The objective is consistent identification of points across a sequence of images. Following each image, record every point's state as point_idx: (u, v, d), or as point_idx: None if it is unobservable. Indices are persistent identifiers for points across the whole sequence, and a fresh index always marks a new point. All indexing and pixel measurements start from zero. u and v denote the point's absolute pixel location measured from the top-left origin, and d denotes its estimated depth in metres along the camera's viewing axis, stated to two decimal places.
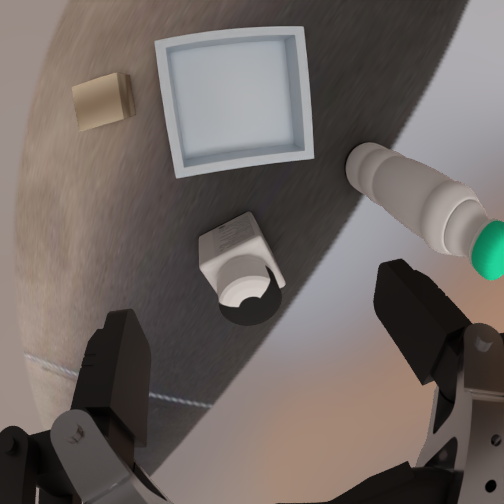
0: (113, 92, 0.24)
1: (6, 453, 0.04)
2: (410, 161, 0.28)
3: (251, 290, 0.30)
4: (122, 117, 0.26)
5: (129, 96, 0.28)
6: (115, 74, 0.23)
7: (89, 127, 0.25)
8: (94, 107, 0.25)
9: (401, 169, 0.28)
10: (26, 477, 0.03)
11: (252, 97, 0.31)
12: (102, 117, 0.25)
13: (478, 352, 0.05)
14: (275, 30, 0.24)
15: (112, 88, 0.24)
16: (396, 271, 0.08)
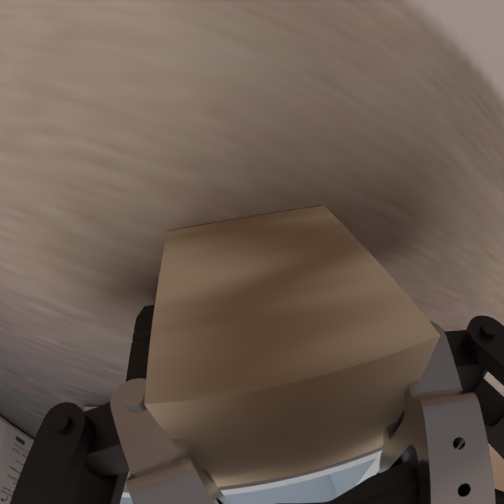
0: (319, 462, 0.06)
1: (56, 430, 0.05)
2: None
3: None
4: (218, 486, 0.07)
5: None
6: (376, 447, 0.07)
7: (176, 437, 0.05)
8: (283, 440, 0.05)
9: None
10: (74, 459, 0.04)
11: None
12: (224, 460, 0.05)
13: None
14: None
15: (335, 456, 0.07)
16: None
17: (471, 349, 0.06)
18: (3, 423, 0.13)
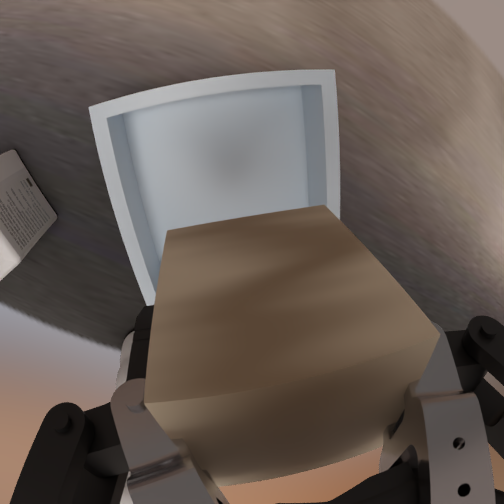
0: (319, 461, 0.06)
1: (56, 430, 0.05)
2: None
3: None
4: (218, 485, 0.06)
5: None
6: (376, 447, 0.07)
7: (176, 436, 0.05)
8: (283, 440, 0.05)
9: None
10: (74, 460, 0.04)
11: (223, 205, 0.23)
12: (224, 460, 0.05)
13: None
14: None
15: (335, 456, 0.07)
16: None
17: (471, 349, 0.06)
18: (21, 164, 0.19)
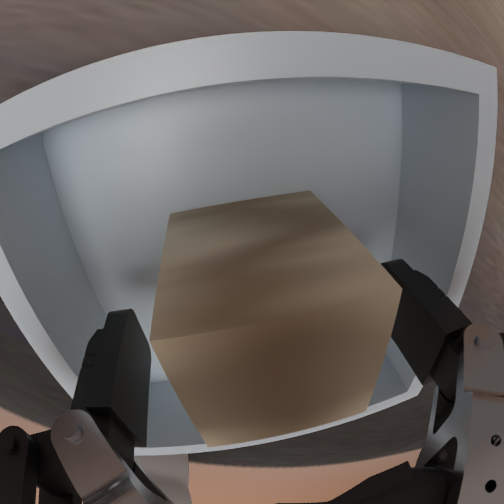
0: (306, 421, 0.08)
1: (6, 453, 0.04)
2: None
3: None
4: (213, 445, 0.08)
5: None
6: (361, 411, 0.08)
7: (175, 379, 0.06)
8: (269, 388, 0.06)
9: None
10: (26, 476, 0.03)
11: None
12: (218, 411, 0.07)
13: (478, 352, 0.05)
14: None
15: (321, 416, 0.08)
16: (396, 271, 0.08)
17: None
18: None
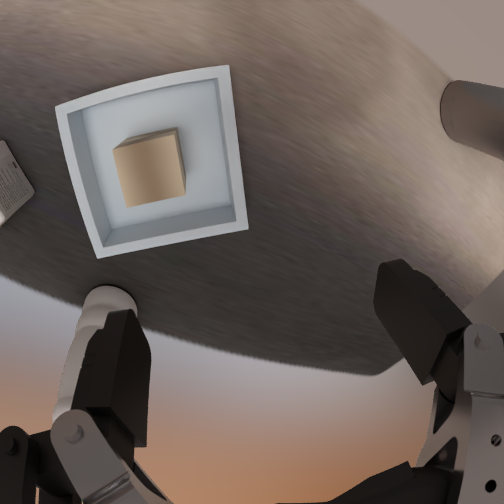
0: (159, 193, 0.23)
1: (6, 453, 0.04)
2: None
3: None
4: (128, 206, 0.23)
5: None
6: (183, 194, 0.24)
7: (117, 163, 0.21)
8: (142, 169, 0.22)
9: None
10: (26, 477, 0.03)
11: None
12: (128, 180, 0.22)
13: (478, 352, 0.05)
14: (239, 200, 0.27)
15: (165, 191, 0.23)
16: (396, 271, 0.08)
17: None
18: (9, 151, 0.23)
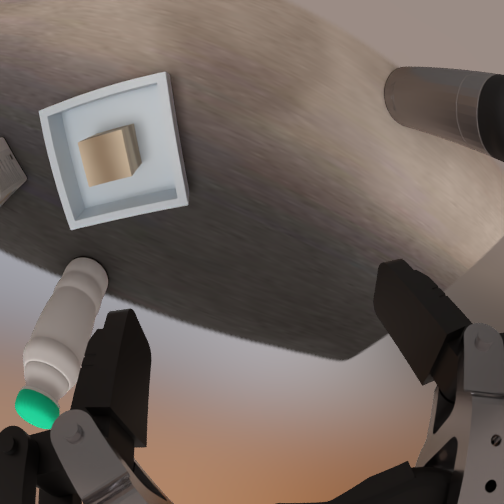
0: (112, 175, 0.28)
1: (6, 453, 0.04)
2: (88, 317, 0.32)
3: None
4: (90, 185, 0.28)
5: None
6: (129, 175, 0.29)
7: (81, 153, 0.26)
8: (99, 156, 0.27)
9: (77, 311, 0.31)
10: (26, 477, 0.03)
11: None
12: (89, 165, 0.27)
13: (478, 352, 0.05)
14: (178, 180, 0.32)
15: (116, 173, 0.28)
16: (396, 271, 0.08)
17: None
18: (7, 146, 0.29)
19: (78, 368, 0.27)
